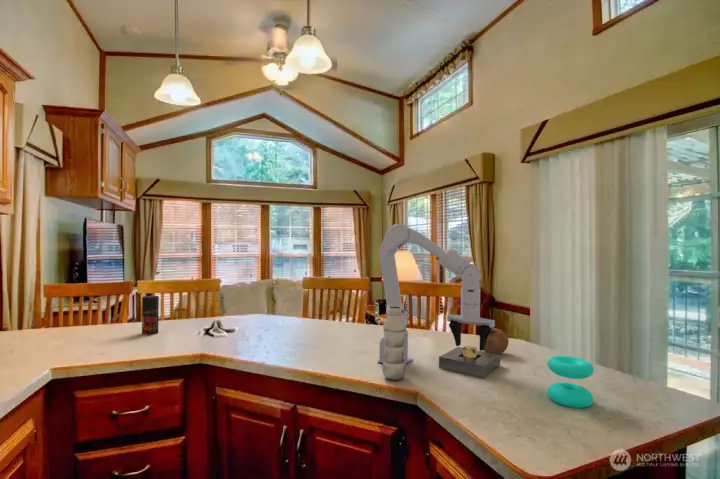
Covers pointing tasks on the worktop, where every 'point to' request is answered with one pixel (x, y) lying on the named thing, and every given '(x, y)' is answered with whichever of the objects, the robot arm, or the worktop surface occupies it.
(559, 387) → the donuts
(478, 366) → the block
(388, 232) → the robot arm
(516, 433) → the worktop surface
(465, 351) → the bushing
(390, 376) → the plastic bottle
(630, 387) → the worktop surface
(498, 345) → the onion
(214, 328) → the cloth
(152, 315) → the deodorant
